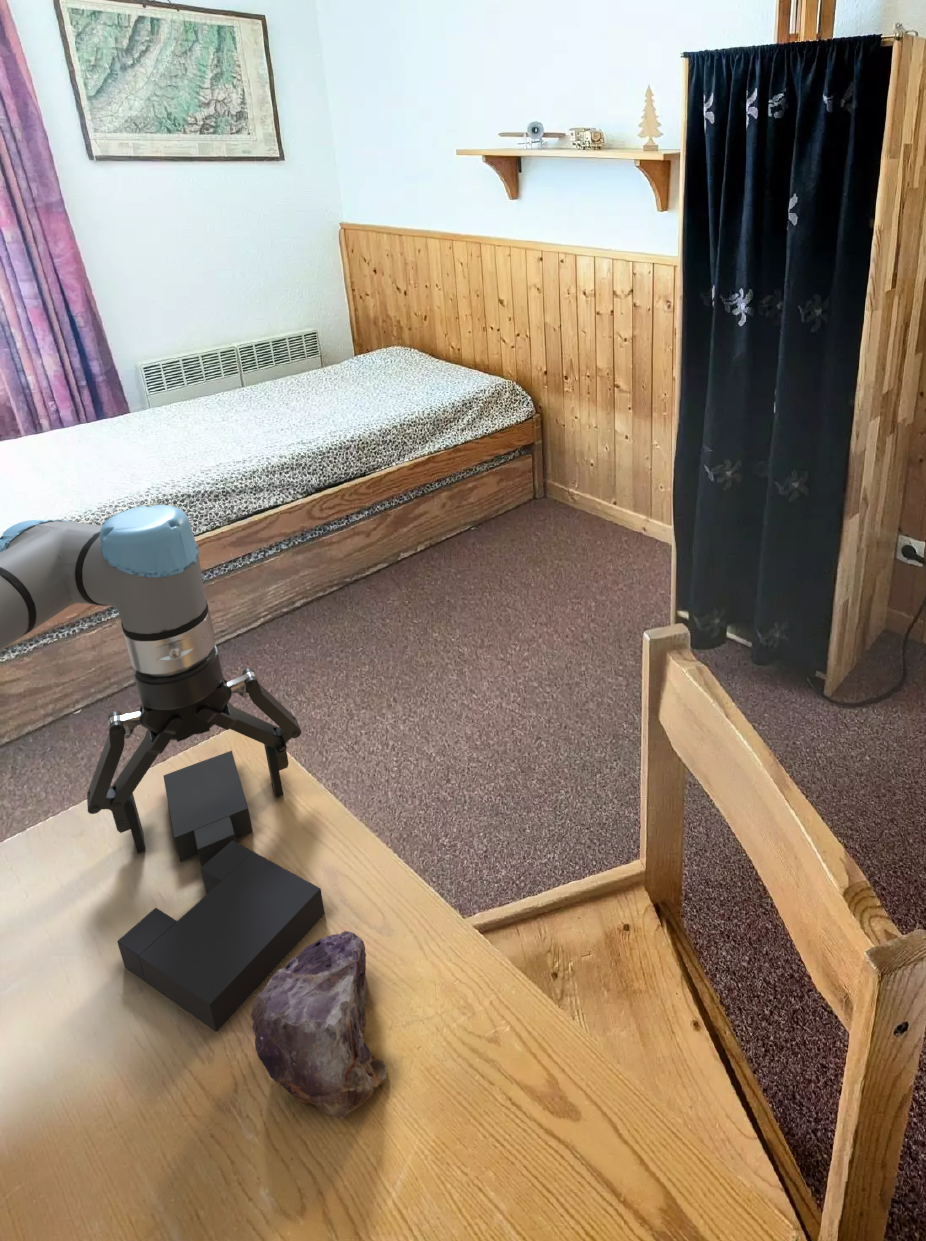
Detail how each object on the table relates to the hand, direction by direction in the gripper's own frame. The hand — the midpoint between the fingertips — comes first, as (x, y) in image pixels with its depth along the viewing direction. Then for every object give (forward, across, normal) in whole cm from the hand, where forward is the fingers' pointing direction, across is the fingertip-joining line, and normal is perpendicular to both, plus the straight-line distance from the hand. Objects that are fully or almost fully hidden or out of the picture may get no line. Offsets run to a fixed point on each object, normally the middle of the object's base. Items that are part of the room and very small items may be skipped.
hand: (212, 819), depth 87 cm
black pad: (0, 0, -1) cm, 1 cm away
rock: (0, +4, -31) cm, 31 cm away
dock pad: (0, -1, -16) cm, 17 cm away
